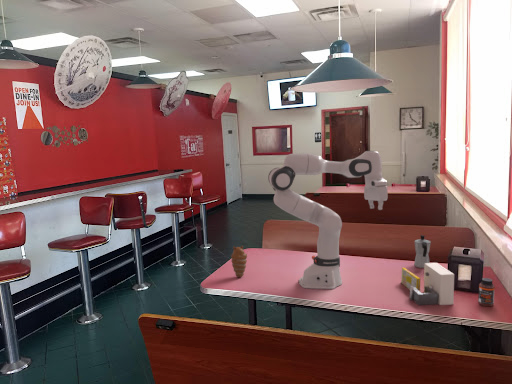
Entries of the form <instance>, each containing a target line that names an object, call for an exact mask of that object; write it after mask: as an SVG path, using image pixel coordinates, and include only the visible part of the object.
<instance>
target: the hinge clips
mask: <svg viewBox="0 0 512 384" xmlns="http://www.w3.org/2000/svg"><path fill="white" fill-rule="evenodd" d="M409 300H411V301H413V302H415V304H417V305H418V306H427V305H428V306H429V305H438V303H437V300H438V293H436V292H435V291H434V290H433V286H432V285H430V287H429V286H426V287H425V292H424V291H423V292H421V290H420V291H419V290H418V289H416V288H415V287H413V286H410V289H409Z"/></svg>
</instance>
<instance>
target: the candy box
mask: <svg viewBox="0 0 512 384" xmlns="http://www.w3.org/2000/svg"><path fill="white" fill-rule="evenodd" d="M400 279H401V280H400V281H401V284H402V285H403V286H405V287H406V288H407V289H408V290H410V286H413V287H415V288H416V289H418V290H419V291H420V292H421V278H420V277H419V276H417V275H416V274H415V273H413V272H411V271H410V270H409V269H407V268H406V267H401V277H400Z"/></svg>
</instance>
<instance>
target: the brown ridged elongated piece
mask: <svg viewBox="0 0 512 384" xmlns="http://www.w3.org/2000/svg"><path fill="white" fill-rule="evenodd" d="M247 257H248V255H247V253H246V252H245V250H244V246H243V245H241V246H233V251H232V253H231V257H230V258H231V263H232V268H233V272H234V273H235V277H237V278H242V277H243V276H244V275H245V271H246V268H247V262H248V261H247V259H248V258H247Z"/></svg>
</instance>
